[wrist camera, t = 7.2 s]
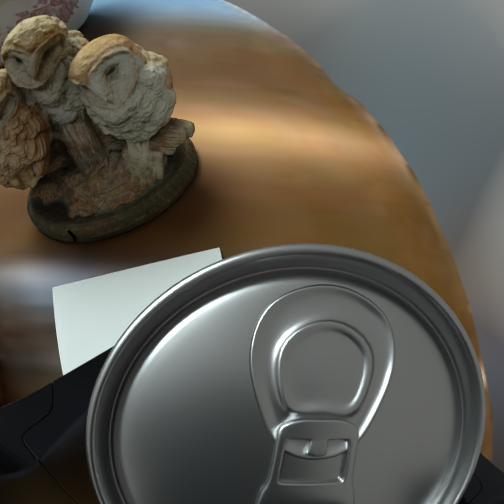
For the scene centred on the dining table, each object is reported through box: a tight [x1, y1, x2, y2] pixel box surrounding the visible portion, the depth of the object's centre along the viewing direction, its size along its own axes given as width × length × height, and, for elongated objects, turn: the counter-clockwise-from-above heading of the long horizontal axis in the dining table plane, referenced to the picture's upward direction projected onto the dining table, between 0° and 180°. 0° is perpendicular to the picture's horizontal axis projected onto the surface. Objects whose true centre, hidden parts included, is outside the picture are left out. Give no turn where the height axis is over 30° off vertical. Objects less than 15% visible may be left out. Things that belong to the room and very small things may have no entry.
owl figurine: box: [0, 14, 197, 243], centre depth 17 cm, size 18×12×17 cm, turn 108°
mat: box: [53, 248, 222, 375], centre depth 20 cm, size 14×14×1 cm
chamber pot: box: [0, 0, 94, 64], centre depth 26 cm, size 28×28×21 cm
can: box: [85, 243, 485, 504], centre depth 8 cm, size 6×6×12 cm
